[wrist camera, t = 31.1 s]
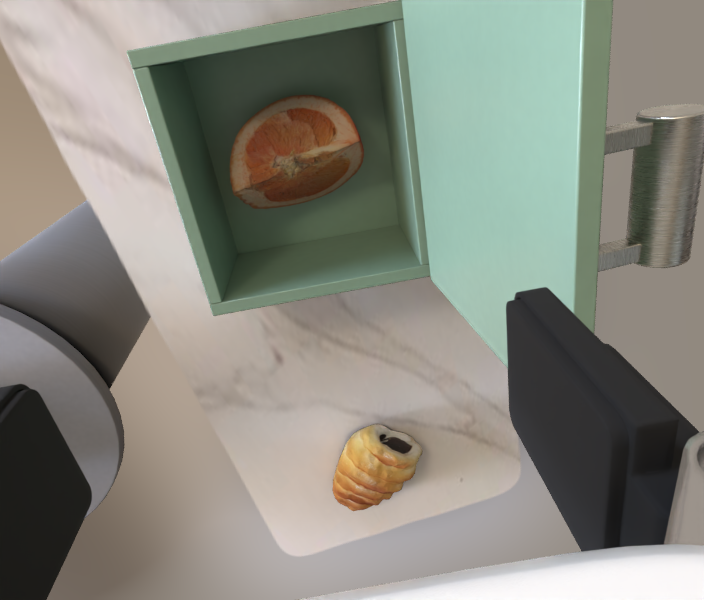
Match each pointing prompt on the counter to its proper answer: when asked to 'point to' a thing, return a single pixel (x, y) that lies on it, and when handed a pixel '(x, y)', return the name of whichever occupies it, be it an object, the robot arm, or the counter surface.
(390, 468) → the pastry
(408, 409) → the counter surface
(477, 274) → the bin lid
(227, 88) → the bin
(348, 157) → the fruit slice
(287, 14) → the counter surface
